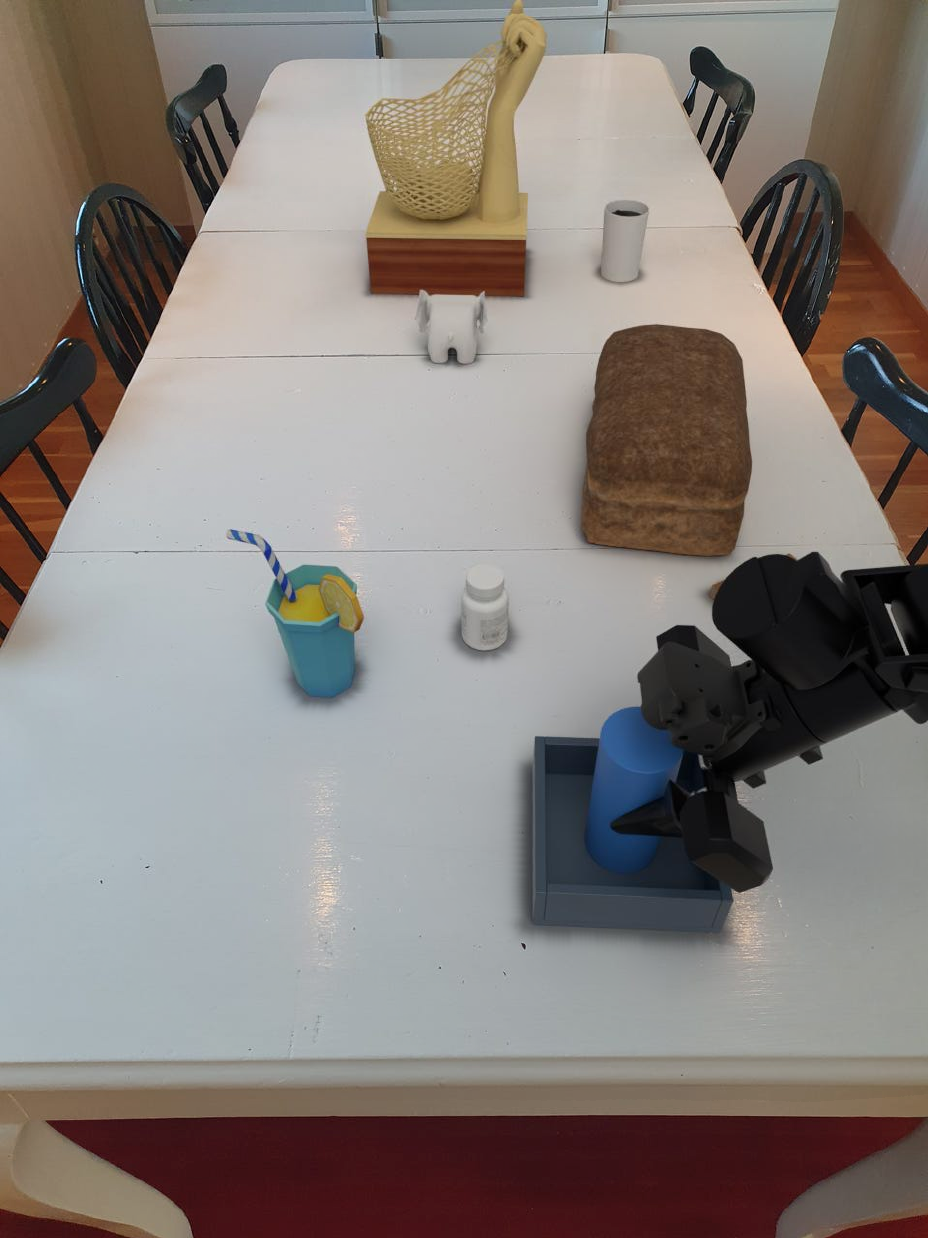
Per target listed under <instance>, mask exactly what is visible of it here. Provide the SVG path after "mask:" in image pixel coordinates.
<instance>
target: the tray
mask: <svg viewBox="0 0 928 1238" xmlns="http://www.w3.org/2000/svg"><path fill="white" fill-rule="evenodd" d="M599 741H600V737H577V736H576V737H575V736H549V735H547V736H543V735H542V736H541V735H535V736H534V743H533V757H532V769H531V772H532V773H531V777H532V778H531V817H532V818H531V826H532V827H531V832H532V833H531V835H532V836H531V840H532V841H531V843H532V844H531V846H532V847H531V851H532V852H531V856H532V857H531V871H532V873H531V874H532V875H531V879H532V880H531V881H532V882H531V890H532V892H531V893H532V895H531V896H532V899H531V904H532V905H531V906H532V907H531V912H532V913H531V917H532V919H531V920H532V923H531V924H532V925H535V926H559V927H576V928H577V927H581V928H600V929H601V928H603V929H623V930H647V931H667V932H669V931H670V932H691V933H710V934H711V933H714V934H720V933H721V932H722V930H723V927H724V925H725V922H726V920H727V918H728V916H729V913H730V910H731V908H732V906H733V903H734V897H733V889H732V888H730V887H729V886H727V885H726V884H724V883H723V882H721V881H720V880H718V879H717V878H715V877H714V876H712V875H711V874H709V873H708V872H706V871H705V870H703V869H702V868H700V867H699V866H697V865H695V864H694V863H692V862H691V861H690V859H689V857H688V855H687V854H686V852H685V850H684V844H683V838H677V837H663V836H661V838H660V841H659V845H658V849H657V852H656V855H655V857H654V859H653V860H652V862H651V863H650V864H649V865H648V866H646V867H645V868H643V869H642V870H639V871H637V872H633V873H617V872H613V871H610V870H607V869H606V868H604V867H602V866H601V865H599V864H598V863H597V862H596V861H595V860H594V859H593V858H592V857H591V856H590V854H589V852H588V850H587V848H586V845H585V838H584V837H585V829H586V823H587V816H588V810H589V804H590V797H591V791H592V785H593V778H594V772H595V766H596V759H597V753H598V747H599ZM675 783H676V784H677V785H679V786H680V787H682V788H683V789H684V790H686V791H687V792H689V793H691V792H693V791H696V792H697V791H698V790H700V789H702V788H704V783H703V777H702V771H701V767H700V763H699V756H698V754H695V753H692V752H689V751H686V750H684V753H683V757H682V760H681V764H680V768H679V771H678V775H677V779H676V782H675Z"/></svg>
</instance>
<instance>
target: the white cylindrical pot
mask: <svg viewBox="0 0 928 1238" xmlns="http://www.w3.org/2000/svg"><path fill="white" fill-rule="evenodd" d="M603 210H604V211H603V225H602V245H601V247H602V248H601V262H600V263H601V264H600V265H601V267H600V275H601V277H602V278H603V279H605V280H607V281H611V282H614V283H627V282H632V281H634V280H636V279H637V278H639V277H638V276H639V270H640V265H641V259H642V254H643V249H644V242H645V237H646V230H647V226H648V219H649V213H650V207H649V205H648V204H646V203H644V202H642V201H639V200H633V199H616V200H612V201H608V203H606V204H605V205H604V209H603Z"/></svg>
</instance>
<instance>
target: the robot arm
mask: <svg viewBox="0 0 928 1238" xmlns="http://www.w3.org/2000/svg"><path fill="white" fill-rule="evenodd" d="M723 580H724V582H723V583H722V584H721V586H720V587H719V589H718V591H717V593H716V595H715V598H714V600H713V601H712V605H711V619H712V622H713V625H714V626H715V628H716V630H717V631H719V633H720V634H722V635H723V636H724V637H726V638H727V640H729V641H730V643H732V644H733V645H734V646H735V647H737V649H739V650H740V651H741V652H742V653H744V654H745V655H746V656H747V657H748V658H749V659H748V660H746V661H744V662H742V663H739V664H736V665H733V666H732V662H731V658H730V654H728V653H727V652H726V651H725V650H724V649H722V648H721V646H719V645H718V644H717V643H715V642H714V641H713V640H712V639H711V638H710V637H708V636H707V634H705V632H703V631H701V629H699V628H698V626H696V625H695V624H675V625H674V626H672V627H671V628H669V629H667V630H665V631H664V632H662V633H660V634H658V635H656V636H655V637H656V638H655V639H656V645H657V651H656V652H655V654H654V655H653V656H651V658H650V659H649V660H648V661H647V662H646V664H645V665H643V667H642V668H641V669H640V670H639V671H638V672H637V676H636V677H637V683H638V684H639V687H640V688H639V689H640V697H641V704H640V707H641V714H642V716H643V718H644V720H645V721H646V722H647V723H648V724H649V725H650V726H652V727H653V728H656V729H659V730H668V731H669V733H670V739H671V743H672V745H673V746H675V747H677V748H680V749H683V750H686V751H689V752H692V753H695V754H698V756H699V763H700V767H701V771H702V777H703V783H704V788H702V789H700V790H698V791H697V792H696V791H693V792H691V793H689V792H687V791H686V790H684V789H683V788H682V787H680V786H679V785H677V784H676V783H675V782H673V781H672V780H669V781H668V783H667V786H666V790H665V793H664V795H663V796H662V797H660V798H658V799H656V800H654V801H652V802H650V803H647V804H645V805H643V806H641V807H639V808H637V809H635V810H632V811H630V812H628V813H626V814H624V815H622V816H621V817H619V818H618V819H616V820H614V821H613V822H611V824H610V827H611V829H612V830H613V831H615V832H616V833H618V834H628V835H645V836H663V837H677V838H683V844H684V850H685V852H686V854H687V855H688V857H689V859H690V861H691V862H692V863H694V864H695V865H697V866H699V867H700V868H702V869H703V870H705V871H706V872H708V873H709V874H711V875H712V876H714V877H715V878H717V879H718V880H720V881H721V882H723V883H724V884H726V885H727V886H729V887H730V888H731V890H732V891H735V892H736V893H738V894H741V893H745V892H747V891H751V890H752V889H755V888H758V887H761V886H763V885H764V884H765V883H766V882H767V881H769V880H770V876H771V875H772V872H773V870H774V867H773V862H772V857H771V852H770V847H769V842H768V838H767V833H766V827H765V823H764V820H762V819H761V818H760V817H758V816H757V815H756V814H754V813H753V812H752V811H750V810H749V809H747V808H746V807H745V806H743V805H742V804H741V803H739V798H738V793H737V788H736V783H738V782H740V781H741V782H744V783H745V784H746V785H747V786H748V787H750V788H752V789H756V788H759V787H761V786H763V785H766V784H767V780H766V773H765V771H766V770H768V769H771V768H774V767H776V766H778V765H780V764H782V763H785V762H787V761H789V760H792V759H794V758H797V757H798V758H800V759H801V760H802V761H803V762H805V763H806V765H809V766H810V765H812V764H814V763H817V762H819V761H821V760H823V759H824V757H823V753H822V749H821V746H824V745H826V744H827V743H830V742H832V741H835V740H837V739H839V738H841V737H843V736H847V735H848V734H850V733H853V732H855V731H857V730H859V729H863V728H864V727H866V726H869V725H871V724H873V723H875V722H878V721H880V720H882V719H885V718H887V717H890V716H892V715H894V714H896V713H899V711H900V712H901V711H903V712H904V713H905V714H906V715H907V716H908V717H909V718H910V719H911V720H912V721H914V723H916V724H918V725H924V724H925V723H927V722H928V563H920V564H919V563H918V564H907V565H906V564H904V565H893V566H882V567H881V566H880V567H869V568H867V567H866V568H856V569H846V570H844V571H842V572H841V573H840V578H839V577H838V576H837V575H836V574H835V573H834V572H833V570H832V568H831V565H830V563H829V562H828V560H826V558H824V556H823V555H821V554H820V552H819V551H811V552H809V553H808V554H805V555H804V556H803V557H800V558H799V559H797V561H796V560H795V559H793V558H791V557H789V556H787V555H786V554H782V553H781V554H780V553H771V554H766V555H762V556H759V557H757V556H753V557H750V558H749V559H747V560H745V561H743V562H742V563H740V565H738V566H736V567H735V568H734V569H733V570H732V571H731V572H730V573H729V574H728V575H727V576H726V578H724V579H723ZM886 605H890V613H891V614H892V617H893V619H894V621H895V624H896V627H897V629H898V631H899V635H900V637H901V639H902V641H903V643H904V646H905V648H906V651H907V654H906V652H905V650H904V647H903V645H902V643H901V639H900V637H899V635H898V633H897V630H896V628H895V625H894V623H893V621H892V618H891V615H890V613H889V610H888V608H887V606H886Z"/></svg>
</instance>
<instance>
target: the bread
mask: <svg viewBox="0 0 928 1238" xmlns="http://www.w3.org/2000/svg"><path fill="white" fill-rule="evenodd" d="M599 355H600V356H599V358H598V362H597V365H596V371H595V380H594V386H593V389H594V390H593V391H594V399H593V403H592V405H591V408H592V416H591V418H590V420H589V424H588V426H587V430H586V433H585V445H586V447H585V448H586V450H585V451H586V466H585V471H584V473H585V474H584V478H583V483H582V496H581V519H580V527H581V530H582V531H583V533H584V534H585V536H586V540H587V543H590V544H596V545H600V546H601V545H602V546H609V547H618V548H628V549H636V550H637V549H638V550H646V551H655V552H663V553H671V554H678V555H689V556H704V557H705V556H706V557H709V556H713V557H714V556H724V555H730V554H731V553H733V551H734V550H735V549H736V545H737V541H738V538H739V534H740V530H741V527H742V523H743V519H744V516H745V501H746V498H747V495H748V493H749V488H750V483H751V478H752V472H753V458H752V457H753V456H752V452H751V451H752V450H751V441H750V439H751V437H750V427H749V418H748V411H747V409H748V408H747V405H748V402H747V401H748V399H747V390H746V389H747V388H746V381H745V372H744V362H743V361H744V360H743V358H742V356H741V354H740V352H739V351H738V348H737V346H736V344H735V343H734V342H733V341H731V340H730V338H728V337H727V336H725V335H724V334H723V333H721V332H717V331H714V330H710V329H707V328H697V327H687V326H679V325H670V324H659V323H656V324H654V323H653V324H643V325H636V326H632V327H627V328H624V329H623V328H622V329H620V330H617V331H616V330H615V331H613V332H612V333H611V335H609V337H608V338H607V339H606V340H605V342H604V344H603V346H602V348H601V351H600V354H599Z"/></svg>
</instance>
